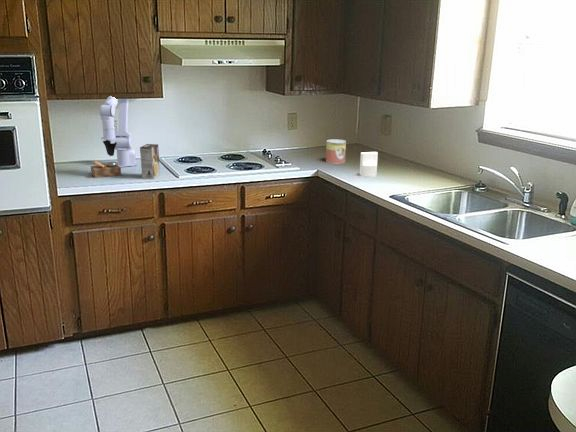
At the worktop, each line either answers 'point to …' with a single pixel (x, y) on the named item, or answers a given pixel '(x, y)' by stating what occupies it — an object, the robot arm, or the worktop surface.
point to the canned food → (335, 151)
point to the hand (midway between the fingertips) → (110, 155)
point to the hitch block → (105, 171)
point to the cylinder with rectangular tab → (368, 164)
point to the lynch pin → (112, 164)
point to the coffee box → (150, 161)
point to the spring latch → (98, 163)
